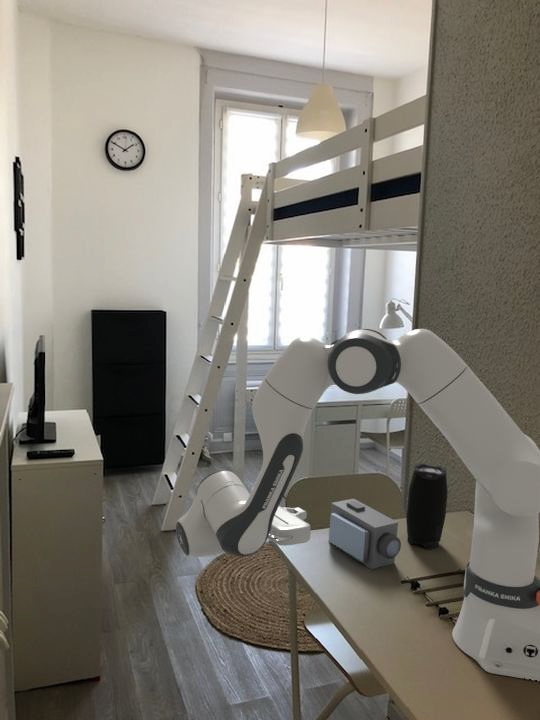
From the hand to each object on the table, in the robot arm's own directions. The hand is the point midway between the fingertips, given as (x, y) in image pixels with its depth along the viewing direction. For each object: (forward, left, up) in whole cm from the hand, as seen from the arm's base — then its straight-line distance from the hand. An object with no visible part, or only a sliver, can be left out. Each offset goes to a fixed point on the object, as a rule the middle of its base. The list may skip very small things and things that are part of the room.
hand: (303, 512), depth 137 cm
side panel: (-9, -9, -11) cm, 17 cm away
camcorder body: (-12, -12, -12) cm, 21 cm away
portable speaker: (-24, -26, -13) cm, 38 cm away
